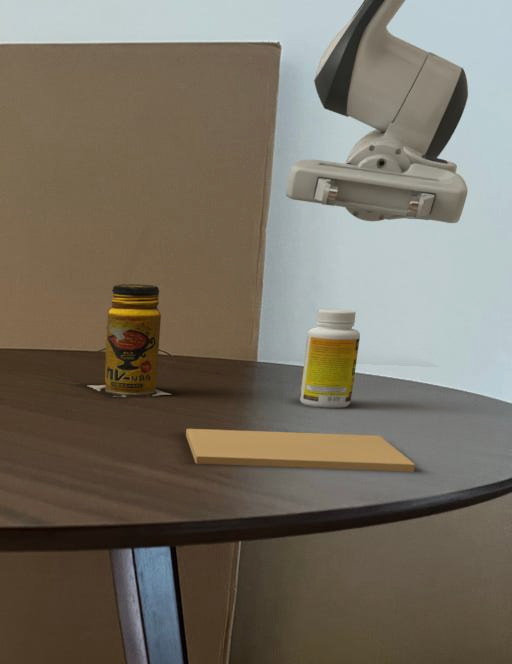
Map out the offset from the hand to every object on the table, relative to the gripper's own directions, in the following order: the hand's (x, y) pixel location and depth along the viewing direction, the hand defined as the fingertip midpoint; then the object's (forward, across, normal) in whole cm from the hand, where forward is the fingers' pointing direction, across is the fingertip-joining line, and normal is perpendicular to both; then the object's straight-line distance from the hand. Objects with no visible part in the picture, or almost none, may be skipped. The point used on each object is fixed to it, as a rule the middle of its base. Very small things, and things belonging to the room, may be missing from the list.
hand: (371, 203), depth 115 cm
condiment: (+14, -22, +22) cm, 34 cm away
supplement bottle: (+14, 0, +19) cm, 23 cm away
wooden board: (+41, -2, +13) cm, 43 cm away
